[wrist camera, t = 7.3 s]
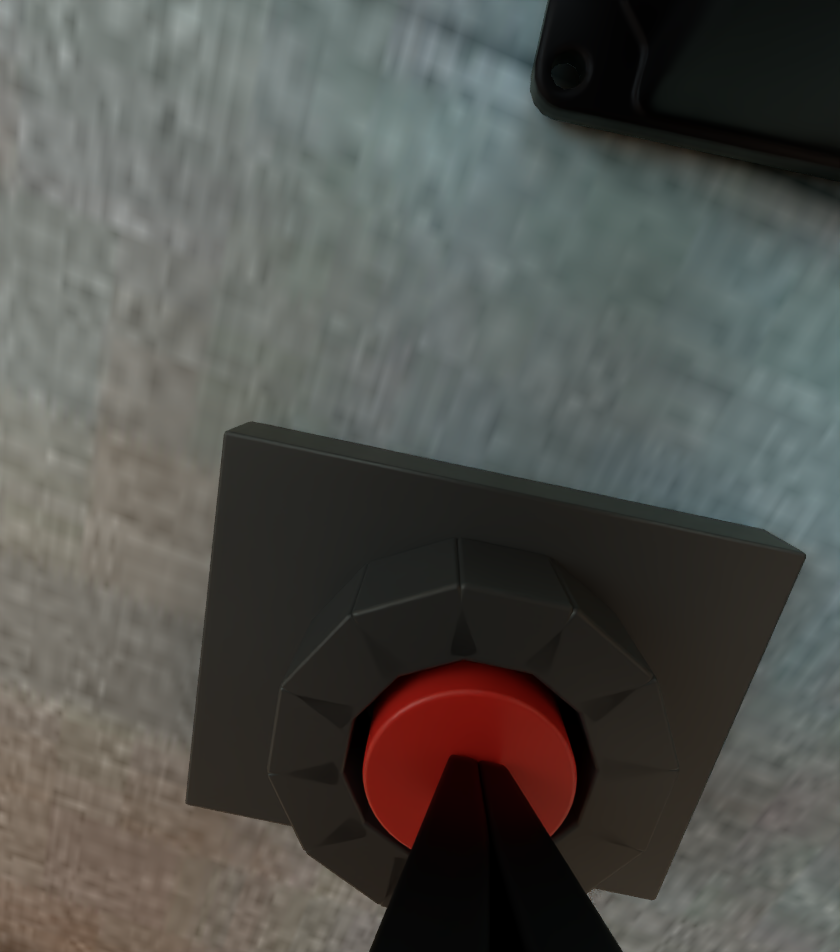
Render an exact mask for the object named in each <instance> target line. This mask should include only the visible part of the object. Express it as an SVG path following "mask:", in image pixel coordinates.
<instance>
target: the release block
mask: <svg viewBox="0 0 840 952" xmlns="http://www.w3.org/2000/svg"><path fill="white" fill-rule="evenodd" d="M805 559H806V554H805V553H804V552H802V551H800V550H799V549H797V548H795V547H793V546H792V545H790V544H788V543H786V542H785V541H783V540H781V539H780V538H778V537H776V536H774V535H773V534H771V533H769V532H767V531H766V530H764V529H759V528H754V527H750V526H745V525H740V524H735V523H731V522H726V521H721V520H716V519H712V518H707V517H702V516H697V515H693V514H688V513H683V512H678V511H674V510H669V509H664V508H660V507H655V506H650V505H645V504H641V503H636V502H631V501H626V500H622V499H617V498H612V497H607V496H603V495H598V494H593V493H589V492H584V491H579V490H574V489H570V488H565V487H560V486H555V485H551V484H546V483H541V482H536V481H532V480H527V479H522V478H518V477H513V476H508V475H503V474H499V473H494V472H489V471H484V470H480V469H475V468H470V467H465V466H461V465H456V464H451V463H447V462H442V461H437V460H432V459H428V458H423V457H418V456H413V455H409V454H404V453H399V452H394V451H390V450H385V449H380V448H376V447H371V446H366V445H361V444H357V443H352V442H347V441H342V440H338V439H333V438H328V437H323V436H319V435H314V434H309V433H305V432H300V431H295V430H290V429H286V428H281V427H276V426H271V425H267V424H262V423H257V422H248V423H245V424H243V425H240V426H238V427H235V428H233V429H230V430H228V431H226V432H225V433H224V439H223V449H222V458H221V468H220V477H219V487H218V496H217V506H216V516H215V525H214V535H213V544H212V554H211V563H210V573H209V582H208V592H207V601H206V611H205V620H204V630H203V640H202V649H201V659H200V668H199V678H198V687H197V697H196V706H195V716H194V725H193V735H192V744H191V754H190V763H189V773H188V783H187V792H186V804H187V805H191V806H196V807H201V808H206V809H211V810H216V811H221V812H225V813H230V814H235V815H240V816H245V817H250V818H255V819H259V820H264V821H269V822H274V823H279V824H284V825H289V826H292V827H293V829H294V831H295V833H296V835H297V837H298V839H299V841H300V843H301V846H302V848H303V850H305V851H306V853H307V854H308V855H309V856H311V857H312V858H313V859H315V860H316V861H318V862H319V863H321V864H322V865H323V866H325V867H326V868H328V869H329V870H330V871H332V872H333V873H335V874H336V875H337V876H339V877H340V878H342V879H343V880H345V881H346V882H347V883H349V884H350V885H352V886H353V887H354V888H356V889H357V890H359V891H360V892H361V893H363V894H364V895H366V896H367V897H369V898H370V899H371V900H373V901H374V902H376V903H377V904H381V906H383V907H388V904H389V902H390V900H391V897H392V895H393V892H394V890H395V887H396V885H397V883H398V880H399V878H400V875H401V873H402V870H403V868H404V865H405V863H406V861H407V858H408V856H409V853H410V851H411V849H409V848H408V847H406V846H405V845H403V844H402V843H400V842H399V841H398V840H396V839H395V838H394V837H393V836H392V835H390V834H389V832H388V831H387V830H386V829H385V828H384V827H383V826H382V825H381V823H380V822H379V821H378V819H377V818H376V817H375V815H374V813H373V811H372V809H371V807H370V805H369V802H368V799H367V797H366V793H365V789H364V784H363V762H364V755H365V750H366V745H367V740H368V735H369V729H370V724H371V719H372V714H373V709H374V704H375V699H376V698H377V697H378V696H379V695H380V694H381V693H382V692H383V691H384V690H385V689H386V688H387V687H388V686H390V685H391V684H392V683H393V682H394V681H395V680H396V679H397V678H398V677H400V676H404V675H408V674H412V673H415V672H419V671H423V670H427V669H431V668H435V667H439V666H442V665H446V664H450V663H454V662H458V661H462V660H467V661H472V662H476V663H481V664H486V665H491V666H496V667H500V668H505V669H510V670H515V671H520V672H524V673H529V674H533V675H534V676H535V677H536V678H537V679H539V680H540V681H541V682H542V683H543V684H545V685H546V686H547V687H548V688H549V689H551V690H552V691H553V692H554V694H555V697H556V700H557V703H558V707H559V710H560V713H561V716H562V719H563V722H564V726H565V729H566V732H567V735H568V738H569V741H570V744H571V748H572V751H573V754H574V758H575V762H576V767H577V785H576V792H575V796H574V800H573V803H572V806H571V808H570V811H569V813H568V815H567V817H566V818H565V820H564V821H563V823H562V824H561V826H560V827H559V828H558V829H557V830H556V831H555V832H554V834H553V835H551V836H550V837H551V838H552V840H553V842H554V843H555V845H556V846H557V848H558V849H559V851H560V853H561V854H562V856H563V857H564V859H565V861H566V862H567V864H568V865H569V867H570V869H571V870H572V872H573V873H574V875H575V877H576V878H577V880H578V881H579V883H580V884H581V886H582V888H583V889H584V891H585V892H586V894H587V893H588V892H589V891H591V890H592V889H594V888H595V889H600V890H605V891H610V892H615V893H620V894H625V895H629V896H634V897H639V898H644V899H649V900H655V899H656V897H657V894H658V892H659V890H660V888H661V885H662V883H663V881H664V879H665V876H666V874H667V872H668V869H669V867H670V865H671V863H672V860H673V858H674V856H675V854H676V851H677V849H678V847H679V844H680V842H681V840H682V838H683V835H684V833H685V831H686V829H687V826H688V824H689V822H690V820H691V817H692V815H693V813H694V810H695V808H696V806H697V804H698V801H699V799H700V797H701V795H702V792H703V790H704V788H705V785H706V783H707V781H708V779H709V776H710V774H711V772H712V770H713V767H714V765H715V763H716V761H717V758H718V756H719V754H720V751H721V749H722V747H723V745H724V742H725V740H726V738H727V736H728V733H729V731H730V729H731V726H732V724H733V722H734V720H735V717H736V715H737V713H738V711H739V708H740V706H741V704H742V701H743V699H744V697H745V695H746V692H747V690H748V688H749V686H750V683H751V681H752V679H753V677H754V674H755V672H756V670H757V667H758V665H759V663H760V661H761V658H762V656H763V654H764V652H765V649H766V647H767V645H768V642H769V640H770V638H771V636H772V633H773V631H774V629H775V627H776V624H777V622H778V620H779V618H780V615H781V613H782V611H783V608H784V606H785V604H786V602H787V599H788V597H789V595H790V593H791V590H792V588H793V586H794V583H795V581H796V579H797V577H798V574H799V572H800V570H801V568H802V565H803V563H804V561H805Z"/></svg>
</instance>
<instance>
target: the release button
mask: <svg viewBox="0 0 840 952" xmlns="http://www.w3.org/2000/svg"><path fill="white" fill-rule="evenodd" d="M451 755H459V756H463V757H468V758H473V759H475V760H476V762H477V763H478V762H479V761H488V762H492V763H497V764H502V765H504V766H505V767H506V768H507V769H508V770H509V771H510V773H511V775H512V776H513V778H514V779H515V781H516V783H517V784H518V786H519V787H520V789H521V791H522V792H523V794H524V795H525V797H526V799H527V800H528V802H529V803H530V805H531V806H532V808H533V810H534V811H535V813H536V814H537V816H538V818H539V819H540V821H541V822H542V824H543V826H544V827H545V829H546V830H547V832H548V834H549V835H550V836H551V835H553V834H554V832H555V831H556V830H557V829H558V828H559V827H560V826H561V824H562V823H563V821H564V820H565V818H566V817H567V815H568V813H569V811H570V808H571V806H572V803H573V800H574V796H575V792H576V785H577V767H576V762H575V758H574V754H573V751H572V748H571V744H570V741H569V738H568V735H567V732H566V729H565V726H564V722H563V719H562V716H561V713H560V710H559V707H558V703H557V700H556V697H555V694H554V692H553V691H552V690H551V689H549V688H548V687H547V686H546V685H545V684H543V683H542V682H541V681H540V680H539V679H537V678H536V677H535V676H534V675H533V674H529V673H524V672H520V671H515V670H510V669H505V668H500V667H496V666H491V665H486V664H481V663H476V662H472V661H467V660H462V661H458V662H454V663H450V664H446V665H442V666H439V667H435V668H431V669H427V670H423V671H419V672H415V673H412V674H408V675H404V676H400V677H398V678H397V679H396V680H395V681H394V682H393V683H392V684H391V685H390V686H388V687H387V688H386V689H385V690H384V691H383V692H382V693H381V694H380V695H379V696H378V697H377V698H376V699H375V704H374V709H373V714H372V719H371V724H370V729H369V735H368V740H367V745H366V750H365V755H364V762H363V784H364V789H365V793H366V797H367V799H368V802H369V805H370V807H371V809H372V811H373V813H374V815H375V817H376V818H377V819H378V821H379V822H380V823H381V825H382V826H383V827H384V828H385V829H386V830H387V831H388V832H389V834H390V835H392V836H393V837H394V838H395V839H396V840H398V841H399V842H400V843H402V844H403V845H405V846H406V847H408V848H409V849H411V848H412V846H413V843H414V841H415V839H416V836H417V834H418V831H419V829H420V826H421V824H422V822H423V819H424V817H425V814H426V812H427V809H428V807H429V804H430V802H431V800H432V797H433V795H434V792H435V790H436V787H437V785H438V783H439V780H440V778H441V775H442V773H443V770H444V768H445V765H446V763H447V761H448V758H449V757H450V756H451Z"/></svg>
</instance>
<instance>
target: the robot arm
mask: <svg viewBox="0 0 840 952" xmlns="http://www.w3.org/2000/svg"><path fill="white" fill-rule="evenodd" d="M565 63H568V64H570V65H571V66H573V67H575V68H576V70H577V72H578V74H579V85H577V86H576V87H575V88H573V89H563V88H561V87H559V86H557V85H556V83H555V82H554V80H553V78H552V69H553V68H554V67H555V66H557V65H558V64H565ZM530 92H531V95H532V98H533V101H534V104H535V106H536V107H537V108H538V109H539V110H540V112H541V113H542V114H543V115H545V116H548V117H550V118H552V119H554V120H559V121H563V122H568V123H572V124H577V125H582V126H586V127H591V128H595V129H600V130H605V131H609V132H614V133H619V134H623V135H628V136H632V137H637V138H642V139H646V140H651V141H655V142H660V143H665V144H669V145H674V146H678V147H683V148H688V149H692V150H697V151H702V152H706V153H711V154H715V155H720V156H725V157H729V158H734V159H738V160H743V161H748V162H752V163H757V164H762V165H766V166H771V167H775V168H780V169H785V170H789V171H794V172H798V173H803V174H808V175H812V176H817V177H822V178H826V179H831V180H835V181H840V0H548V2H547V7H546V11H545V16H544V20H543V25H542V29H541V33H540V38H539V42H538V47H537V51H536V56H535V60H534V65H533V69H532V74H531V85H530ZM369 952H623V951H622V950H621V948H620V947H619V945H618V943H617V942H616V940H615V939H614V937H613V935H612V934H611V932H610V931H609V929H608V927H607V926H606V924H605V923H604V921H603V920H602V918H601V916H600V915H599V913H598V912H597V910H596V908H595V907H594V905H593V904H592V902H591V900H590V899H589V897H588V896H587V894H586V892H585V891H584V889H583V888H582V886H581V884H580V883H579V881H578V880H577V878H576V877H575V875H574V873H573V872H572V870H571V869H570V867H569V865H568V864H567V862H566V861H565V859H564V857H563V856H562V854H561V853H560V851H559V849H558V848H557V846H556V845H555V843H554V842H553V840H552V838H551V837H550V835H549V834H548V832H547V830H546V829H545V827H544V826H543V824H542V822H541V821H540V819H539V818H538V816H537V814H536V813H535V811H534V810H533V808H532V806H531V805H530V803H529V802H528V800H527V799H526V797H525V795H524V794H523V792H522V791H521V789H520V787H519V786H518V784H517V783H516V781H515V779H514V778H513V776H512V775H511V773H510V771H509V770H508V769H507V768H506V767H505V766H504V765H502V764H497V763H492V762H488V761H479V762H478V763H477V762H476V760H475V759H473V758H468V757H463V756H459V755H451V756H450V757H449V758H448V761H447V763H446V765H445V768H444V770H443V773H442V775H441V778H440V780H439V783H438V785H437V787H436V790H435V792H434V795H433V797H432V800H431V802H430V804H429V807H428V809H427V812H426V814H425V817H424V819H423V822H422V824H421V826H420V829H419V831H418V834H417V836H416V839H415V841H414V843H413V846H412V848H411V851H410V853H409V856H408V858H407V861H406V863H405V865H404V868H403V870H402V873H401V875H400V878H399V880H398V883H397V885H396V887H395V890H394V892H393V895H392V897H391V900H390V902H389V904H388V907H387V909H386V912H385V914H384V917H383V919H382V922H381V924H380V926H379V929H378V931H377V934H376V936H375V939H374V941H373V944H372V946H371V948H370V951H369Z"/></svg>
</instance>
